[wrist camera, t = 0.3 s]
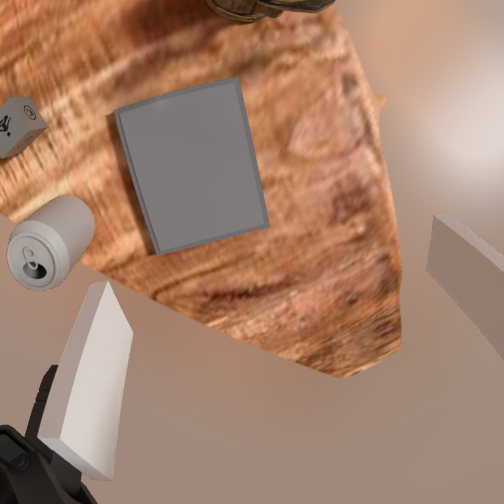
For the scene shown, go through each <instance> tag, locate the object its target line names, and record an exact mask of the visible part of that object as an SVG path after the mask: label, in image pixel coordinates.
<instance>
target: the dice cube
mask: <svg viewBox="0 0 504 504" xmlns="http://www.w3.org/2000/svg"><path fill="white" fill-rule="evenodd" d="M47 128H48V127H47V125H46V123H45V122H44V120H43V118H42V116H41V115H40V113H39V111H38V109H37V108H36V106H35V104H34V102H33V101H32V99H31V97H10V98H9V99H8V100H7V101H6V102H5V103H4V104H3V106H2V107H1V108H0V157H1V159H4V158H7V157H10V156H13V155H16V154H19V153H22V152H23V151H24V150H25V149H26V148H27V147H28V146H29V145H30V144H31V143H32V142H33V141H34V140H35V139H36V138H37V137H38V136H39V135H40V134H41V133H42V132H43V131H44V130H45V129H47Z"/></svg>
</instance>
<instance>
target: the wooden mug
mask: <svg viewBox="0 0 504 504" xmlns="http://www.w3.org/2000/svg"><path fill="white" fill-rule="evenodd" d="M206 2H207V4H208V5H209V7H210V8H211V9H212V10H213V11H214V12H215V13H216V14H218V15H220V16H222V17H224V18H225V19H228V20H233V21H238V22H253V21H258V20H261V19H263V18H265V17H266V16H268V17H271V18H277V17H279V16H280V15H281V14H282V13H283V12H284V10H285V11H292V12H305V13H317V12H319V11H322V10H324V9H326V8H327V7H329V6H331V5H332V4H333V3H334V2H335V0H206Z"/></svg>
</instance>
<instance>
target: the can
mask: <svg viewBox="0 0 504 504" xmlns="http://www.w3.org/2000/svg"><path fill="white" fill-rule="evenodd" d="M94 231H95V222H94V217H93V214H92V212H91V210H90V208H89V207H88V206H87V205H86V204H85V203H84V202H83V201H82V200H80V199H79V198H77V197H75V196H70V195H62V196H58V197H56V198H54V199H53V200H51V201H50V202H48V203H47V204H46V205H44V206H43V207H41V208H40V209H39V210H37V211H36V212H35V213H33V214H32V215H31V216H29V217H28V218H27V219H25V220H24V221H23V222H21V223H20V224H19V225H18V226H16V228H15V229H14V230H13V232H12V233H11V236H10V239H9V243H8V248H7V262H8V266H9V269H10V271H11V273H12V274H13V276H14V278H15V279H16V280H17V281H18V282H19V283H20V284H21V285H23V286H24V287H26V288H27V289H30V290H33V291H45V290H47V289H53V288H55V287H57V286H59V285H60V284H61V283H62V282H63V281H64V280H65V279H66V277H67V276H68V274H69V273H70V271H71V270H72V268H73V267H74V265H75V264H76V262H77V261H78V259H79V258H80V257H81V255H82V254H83V252H84V251H85V249H86V248H87V247H88V245H89V244H90V242H91V240H92V238H93V236H94Z"/></svg>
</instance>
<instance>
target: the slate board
mask: <svg viewBox="0 0 504 504" xmlns="http://www.w3.org/2000/svg"><path fill="white" fill-rule="evenodd" d="M113 111H114V115H115V119H116V123H117V127H118V131H119V135H120V138H121V142H122V146H123V149H124V153H125V157H126V160H127V164H128V167H129V171H130V174H131V177H132V181H133V184H134V187H135V190H136V194H137V197H138V200H139V203H140V206H141V210H142V213H143V216H144V219H145V222H146V225H147V228H148V231H149V234H150V237H151V239H152V242H153V245H154V248H155V251H156V254H157V256H160V255H164V254H168V253H171V252H175V251H179V250H183V249H186V248H190V247H194V246H198V245H202V244H206V243H209V242H213V241H217V240H221V239H225V238H229V237H233V236H236V235H240V234H244V233H248V232H252V231H256V230H260V229H264V228H268V227H270V225H269V220H268V215H267V210H266V205H265V200H264V195H263V190H262V185H261V180H260V175H259V170H258V165H257V160H256V156H255V151H254V146H253V141H252V137H251V132H250V127H249V122H248V118H247V113H246V109H245V104H244V99H243V95H242V90H241V86H240V81H239V77H234V78H229V79H224V80H219V81H215V82H210V83H206V84H202V85H197V86H193V87H189V88H185V89H181V90H178V91H174V92H170V93H167V94H163V95H160V96H156V97H153V98H150V99H146V100H143V101H140V102H137V103H134V104H131V105H128V106H125V107H122V108H119V109H116V110H113Z"/></svg>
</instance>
